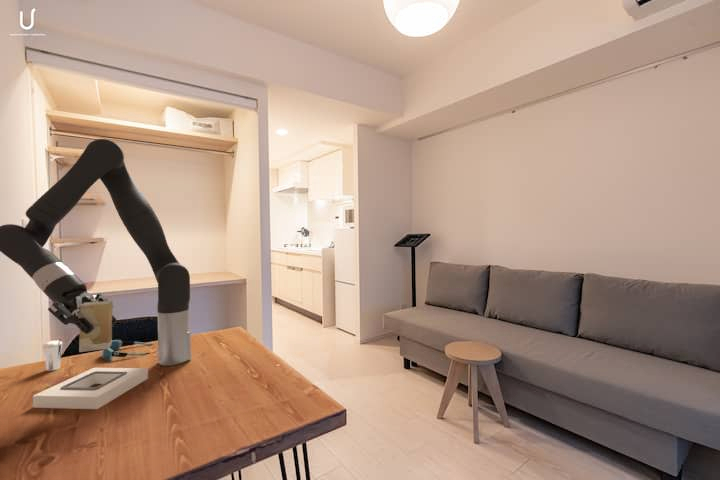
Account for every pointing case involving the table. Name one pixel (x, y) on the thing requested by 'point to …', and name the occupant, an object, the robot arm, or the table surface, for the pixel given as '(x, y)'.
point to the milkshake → (52, 354)
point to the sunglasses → (109, 353)
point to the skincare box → (96, 326)
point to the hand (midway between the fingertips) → (102, 327)
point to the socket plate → (90, 388)
